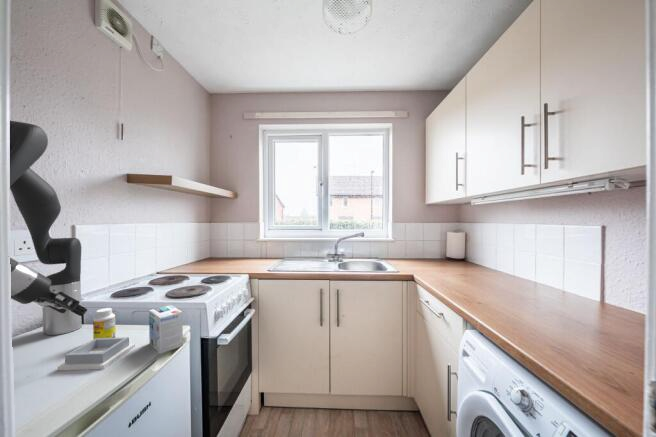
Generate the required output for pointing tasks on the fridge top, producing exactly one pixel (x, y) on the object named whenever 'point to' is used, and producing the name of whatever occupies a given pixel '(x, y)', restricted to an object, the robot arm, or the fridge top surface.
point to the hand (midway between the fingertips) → (74, 311)
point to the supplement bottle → (104, 324)
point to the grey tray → (96, 354)
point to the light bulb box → (165, 328)
